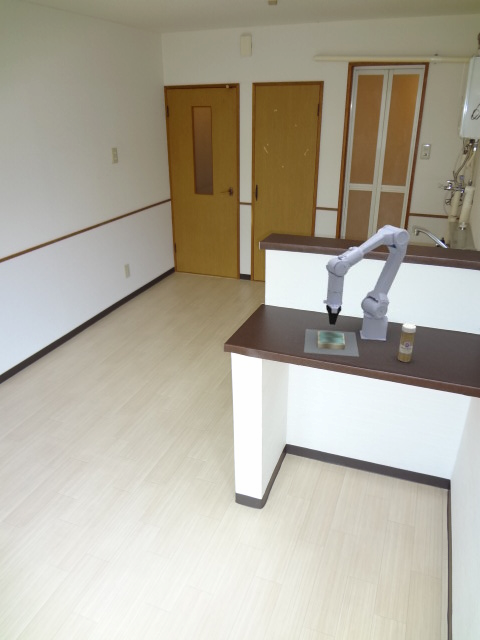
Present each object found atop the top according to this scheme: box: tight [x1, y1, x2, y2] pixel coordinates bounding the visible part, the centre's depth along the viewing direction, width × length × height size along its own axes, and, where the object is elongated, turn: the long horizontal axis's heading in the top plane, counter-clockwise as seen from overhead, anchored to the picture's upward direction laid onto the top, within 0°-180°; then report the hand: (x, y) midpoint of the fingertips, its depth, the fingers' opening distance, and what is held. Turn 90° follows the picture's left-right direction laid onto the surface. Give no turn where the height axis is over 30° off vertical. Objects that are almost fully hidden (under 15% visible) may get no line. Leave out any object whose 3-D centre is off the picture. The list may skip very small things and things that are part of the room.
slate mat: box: [303, 328, 360, 358], centre depth 178 cm, size 20×22×1 cm
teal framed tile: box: [318, 331, 345, 350], centre depth 177 cm, size 10×2×11 cm
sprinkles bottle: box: [397, 323, 417, 363], centre depth 163 cm, size 5×5×13 cm
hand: (332, 323), depth 176 cm, fingers closed
